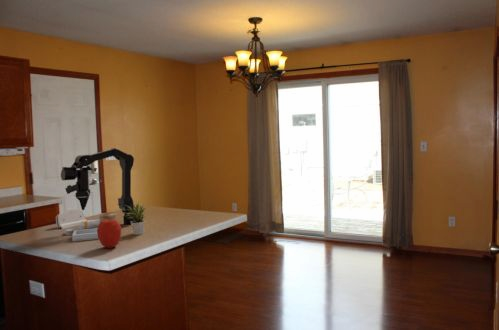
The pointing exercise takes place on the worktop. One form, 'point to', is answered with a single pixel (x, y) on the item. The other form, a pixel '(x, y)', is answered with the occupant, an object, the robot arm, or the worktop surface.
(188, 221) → the worktop surface
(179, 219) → the worktop surface
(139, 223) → the house plant
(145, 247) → the worktop surface
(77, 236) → the tray
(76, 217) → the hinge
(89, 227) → the beige and orange bar
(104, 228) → the red jar
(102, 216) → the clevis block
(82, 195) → the robot arm
